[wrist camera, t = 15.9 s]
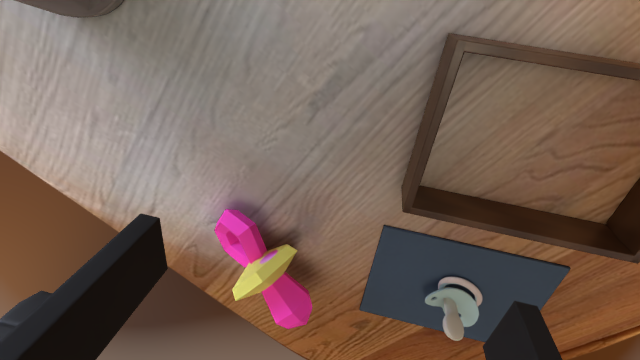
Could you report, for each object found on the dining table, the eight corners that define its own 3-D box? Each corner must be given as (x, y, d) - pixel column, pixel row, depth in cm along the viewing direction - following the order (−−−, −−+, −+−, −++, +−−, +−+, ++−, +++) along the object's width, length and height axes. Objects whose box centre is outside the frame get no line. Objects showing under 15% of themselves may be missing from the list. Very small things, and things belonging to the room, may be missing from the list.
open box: (401, 187, 38) (402, 212, 33) (448, 33, 29) (457, 39, 25) (608, 231, 35) (638, 264, 31) (725, 77, 27) (788, 92, 23)
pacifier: (451, 265, 41) (417, 289, 44) (461, 304, 36) (421, 328, 39) (492, 296, 42) (457, 317, 45) (508, 338, 37) (466, 359, 40)
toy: (262, 181, 42) (192, 226, 36) (350, 291, 41) (294, 357, 35) (242, 207, 50) (182, 248, 44) (315, 300, 49) (264, 355, 43)
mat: (359, 308, 49) (359, 310, 48) (384, 224, 41) (383, 226, 40) (511, 346, 46) (512, 349, 46) (569, 266, 38) (570, 268, 38)
